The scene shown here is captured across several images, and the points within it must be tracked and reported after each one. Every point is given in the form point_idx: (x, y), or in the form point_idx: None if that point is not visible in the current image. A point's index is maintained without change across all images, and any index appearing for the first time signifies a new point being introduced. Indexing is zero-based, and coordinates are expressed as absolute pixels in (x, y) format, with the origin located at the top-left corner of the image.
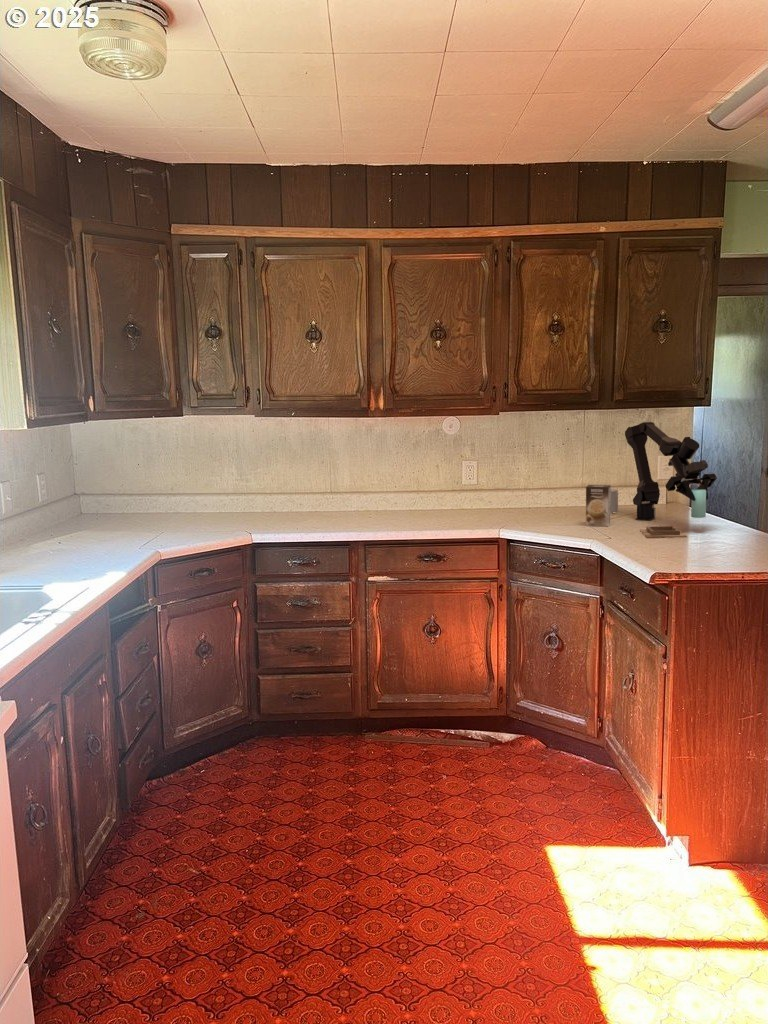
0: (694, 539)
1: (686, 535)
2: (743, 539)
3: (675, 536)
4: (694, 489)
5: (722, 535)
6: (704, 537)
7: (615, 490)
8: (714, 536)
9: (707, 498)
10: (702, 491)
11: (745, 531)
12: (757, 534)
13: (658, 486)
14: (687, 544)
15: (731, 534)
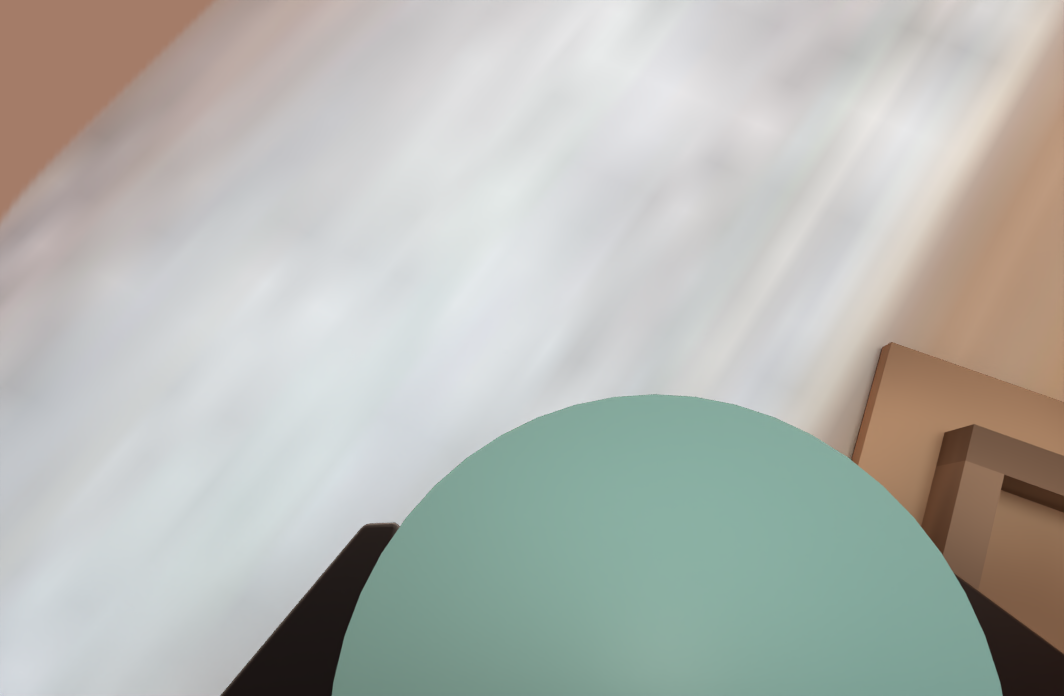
0: (855, 221)
1: (885, 367)
2: (388, 23)
3: (1027, 392)
4: None
5: (432, 290)
6: (689, 273)
7: None
8: (551, 277)
9: (396, 525)
10: (672, 401)
11: (21, 390)
12: (57, 181)
13: None
14: (1053, 34)
15: (301, 299)
